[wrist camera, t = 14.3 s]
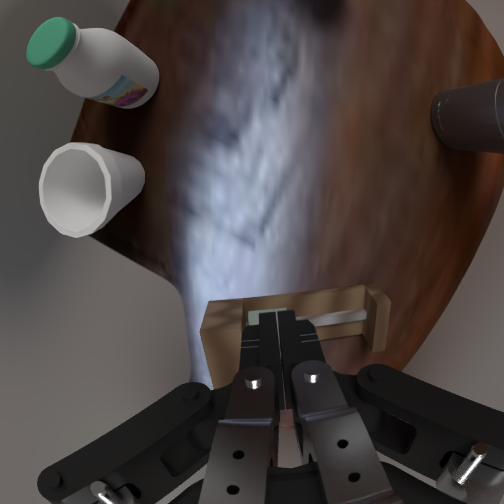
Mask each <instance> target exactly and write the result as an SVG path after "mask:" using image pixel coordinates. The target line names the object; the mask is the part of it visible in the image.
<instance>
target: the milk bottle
mask: <svg viewBox="0 0 504 504" xmlns="http://www.w3.org/2000/svg"><path fill="white" fill-rule="evenodd" d="M26 56H27V60H28V62H29V64H30V65H32V66H33V67H36V68H39V69H44V70H46V71H54V72H55V73H56V75H57V76H58V78H59V80H60V82H61V83H62V84H63V85H64V87H66V88H67V89H68V90H69V91H71V92H72V93H74V94H76V95H79V96H82V97H85V98H88V99H91V100H95V101H98V102H102V103H105V104H109V105H112V106H116V107H120V108H125V109H131V108H135V107H138V106H140V105H142V104H144V103H145V102H147V101H148V100H149V99H150V98H151V97H152V95H153V94H154V93H155V91H156V89H157V86H158V83H159V71H158V68H157V66H156V64H155V63H154V62H153V61H152V60H151V59H150V58H149V57H147V56H146V55H145V54H144V53H143V52H141V51H140V50H139V49H138V48H136V47H135V46H134V45H132V44H131V43H130V42H129V41H127V40H126V39H125V38H123V37H122V36H120V35H118V34H117V33H115V32H113V31H110V30H107V29H102V28H90V29H79V28H78V27H77V25H75V24H73V23H72V22H70V21H69V20H67V19H65V18H62V17H55V18H52V19H49V20H47V21H46V22H45V23H43V24H42V25H41V26H40V27H39V28H38V29H37V30H36V31H35V33H34V34H33V36H32V37H31V39H30V41H29V44H28V47H27V55H26Z"/></svg>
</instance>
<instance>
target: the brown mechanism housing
mask: <svg viewBox="0 0 504 504" xmlns="http://www.w3.org/2000/svg"><path fill="white" fill-rule="evenodd" d="M390 307H391V301H390V300H389V299H388V297H387V296H386V295H385V294H384V292H383V291H382V290H381V289H380V288H379V287H378V285H377V284H376V283H372V284H365V285H357V286H350V287H342V288H334V289H326V290H318V291H309V292H300V293H291V294H282V295H272V296H262V297H252V298H241V299H229V300H217V301H209V302H208V305H207V309H206V312H205V315H204V318H203V322H202V325H201V328H200V336H201V340H202V344H203V348H204V352H205V356H206V360H207V364H208V368H209V372H210V376H211V379H212V383H213V387H214V389H218V388H221V387H224V386H227V385H228V384H230V383H232V382H233V378H234V376H235V374H236V373H237V372H239V363H240V350H241V337H242V332H243V330H244V329H245V328H246V326H247V325H249V321H248V312H249V311H257V310H268V309H278V308H286V310H292V309H294V312H295V316H296V320H305V319H308V320H309V321H310V322H311V323H312V324H313V325H314V326H315V329H316V332H317V335H318V339H319V340H324V339H331V338H338V337H344V336H351V335H357V334H363V336H364V338H365V340H366V342H367V344H368V346H369V347H370V349H371V351H372V352H377V351H382V350H385V345H386V338H387V331H388V324H389V315H390Z"/></svg>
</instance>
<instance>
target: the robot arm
mask: <svg viewBox="0 0 504 504" xmlns="http://www.w3.org/2000/svg"><path fill="white" fill-rule="evenodd" d="M431 118H432V124H433V127H434V129H435V132H436V133H437V135H438V137H439V138H440V140H441V141H442V142H443V143H444V144H445V145H446V146H448V147H450V148H452V149H455V150H468V151H479V152H490V153H500V154H504V79H498V80H493V81H487V82H482V83H477V84H473V85H468V86H463V87H459V88H454V89H450V90H446V91H443V92H440V93H439V94H438V95H437V96H436V97H435V99H434V100H433V103H432V108H431ZM277 317H278V328H277V319H276V311H274V312H264V313H259V324H258V325H247V326H246V328H245V329H244V330H243V332H242V337H241V350H240V363H239V372H237V373H236V374H235V376H234V378H233V382H232V383H230V384H228V385H227V386H224V387H221V388H218V389H214V390H210V389H209V388H208V387H207V386H206V385H204V384H202V383H198V382H189V383H185V384H182V385H180V386H179V387H177V388H175V389H174V390H172V391H171V392H169V393H168V394H166V395H165V396H164V397H162V398H161V399H159V400H158V401H156V402H155V403H153V404H152V405H150V406H148V407H147V408H146V409H144V410H142V411H141V412H139V413H138V414H136V415H135V416H133V417H132V418H130V419H129V420H127V421H125V422H124V423H122V424H121V425H119V426H117V427H116V428H114V429H113V430H111V431H109V432H108V433H106V434H105V435H103V436H101V437H100V438H98V439H96V440H95V441H93V442H91V443H90V444H88V445H86V446H84V447H83V448H81V449H79V450H78V451H76V452H74V453H72V454H71V455H69V456H67V457H65V458H63V459H62V460H60V461H58V462H56V463H55V464H53V465H51V466H49V467H47V468H46V469H44V470H43V471H42V472H41V474H40V475H39V477H38V481H37V486H38V490H39V492H40V493H41V495H42V496H43V497H44V498H46V499H47V500H48V501H49V502H50V503H52V504H155V503H156V502H158V501H159V500H161V499H162V498H163V497H165V496H166V495H167V494H169V493H170V492H172V491H173V490H174V489H175V488H177V487H178V486H179V485H181V484H182V483H183V482H185V481H186V480H187V479H188V478H190V477H191V476H192V475H193V474H195V473H196V472H197V471H198V470H200V469H201V468H202V467H203V466H204V465H205V464H207V463H208V464H207V469H206V473H205V477H204V479H201V480H200V481H198V482H196V483H194V484H192V485H191V486H189V487H188V488H187V489H186V490H184V491H183V492H182V493H181V494H180V495H178V496H177V497H176V498H175V499H173V500H172V501H171V502H170V503H168V504H499V503H500V501H501V499H502V496H503V494H504V412H501V411H498V410H495V409H492V408H490V407H487V406H485V405H482V404H479V403H477V402H474V401H471V400H469V399H466V398H464V397H461V396H459V395H456V394H454V393H451V392H449V391H446V390H443V389H441V388H438V387H436V386H433V385H431V384H429V383H426V382H424V381H421V380H419V379H417V378H415V377H412V376H410V375H407V374H405V373H403V372H400V371H398V370H396V369H394V368H391V367H389V366H386V365H383V364H372V365H368V366H365V367H364V368H362V369H361V370H360V371H359V372H358V375H345V374H340V373H337V372H335V371H333V370H332V368H331V367H330V366H329V365H328V364H327V363H326V361H325V358H324V355H323V352H322V348H321V345H320V342H319V339H318V335H317V332H316V329H315V326H314V325H313V324H312V323H311V322H310V321H309V320H308V319H305V320H296V316H295V312H294V309H292V310H283V311H277ZM278 329H279V337H278ZM279 341H280V346H279ZM280 352H281V355H280ZM281 362H282V364H281ZM282 371H283V378H282ZM283 380H284V389H285V399H286V409H292V411H293V425H294V430H295V434H296V439H297V443H298V448H299V452H300V456H301V461H302V466H298V467H295V468H281V467H278V444H279V422H280V410H284V409H285V406H284V392H283ZM407 422H408V423H407ZM409 423H410V424H409ZM376 451H378V452H380V453H382V454H384V455H385V456H387V457H389V458H391V459H393V460H395V461H397V462H399V463H400V464H403V465H404V466H406V467H408V468H410V469H412V470H414V471H416V472H418V473H420V474H422V475H424V476H426V477H428V478H431V479H433V480H435V481H436V487H437V489H436V488H434V487H432V486H430V485H428V484H426V483H424V482H422V481H421V480H418V479H417V478H415V477H413V476H412V475H410V474H408V473H406V472H404V471H403V470H401V469H399V468H397V467H395V466H394V465H391V464H389V463H386V462H382V461H380V459H379V457H378V455H377V452H376Z"/></svg>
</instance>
